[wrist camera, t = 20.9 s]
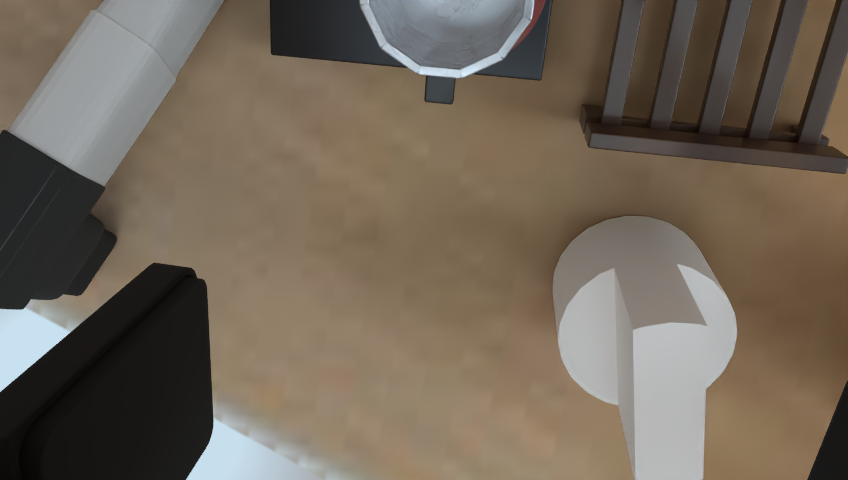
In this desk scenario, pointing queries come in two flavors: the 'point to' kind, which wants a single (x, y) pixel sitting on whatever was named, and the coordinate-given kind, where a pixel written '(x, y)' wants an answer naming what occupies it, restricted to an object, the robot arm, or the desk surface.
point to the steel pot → (447, 36)
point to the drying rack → (723, 93)
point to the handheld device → (84, 141)
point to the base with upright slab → (645, 336)
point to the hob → (354, 41)
